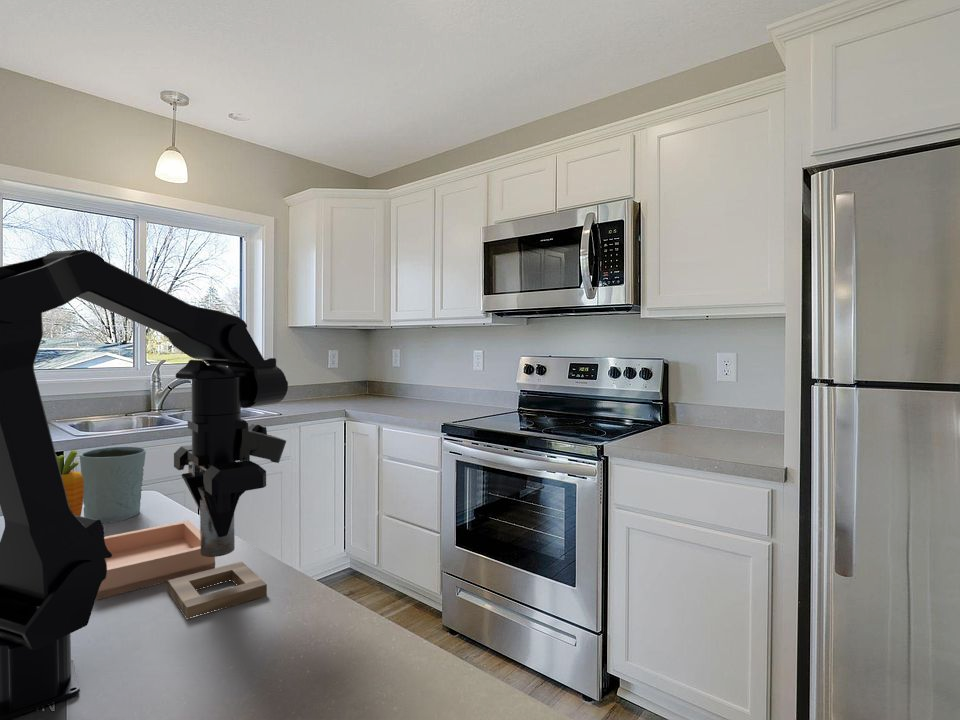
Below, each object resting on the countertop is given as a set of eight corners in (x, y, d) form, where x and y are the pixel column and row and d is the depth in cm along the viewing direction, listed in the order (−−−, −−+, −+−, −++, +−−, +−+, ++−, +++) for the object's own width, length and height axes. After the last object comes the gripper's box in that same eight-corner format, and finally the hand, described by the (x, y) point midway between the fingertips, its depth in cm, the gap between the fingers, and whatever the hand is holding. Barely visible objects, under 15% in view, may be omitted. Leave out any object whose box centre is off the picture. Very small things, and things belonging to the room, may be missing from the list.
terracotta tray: (214, 569, 78) (214, 545, 78) (96, 599, 69) (96, 572, 69) (188, 541, 89) (188, 520, 88) (83, 564, 79) (83, 540, 79)
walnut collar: (266, 595, 70) (266, 584, 70) (186, 619, 64) (186, 607, 64) (242, 571, 77) (242, 561, 77) (167, 591, 71) (167, 580, 71)
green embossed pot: (74, 515, 101) (73, 451, 100) (136, 503, 108) (136, 443, 108) (88, 528, 94) (87, 460, 93) (153, 515, 101) (153, 451, 101)
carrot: (40, 544, 86) (38, 451, 86) (75, 534, 91) (74, 446, 90) (56, 550, 84) (55, 455, 83) (91, 540, 88) (90, 449, 88)
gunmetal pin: (238, 551, 71) (238, 498, 70) (205, 559, 68) (205, 504, 68) (228, 542, 74) (228, 491, 73) (196, 550, 71) (196, 497, 71)
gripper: (307, 415, 68) (307, 537, 69) (254, 401, 82) (255, 502, 83) (212, 424, 61) (213, 560, 62) (172, 406, 75) (173, 518, 76)
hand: (217, 531), depth 71 cm, fingers closed on gunmetal pin, 4 cm apart
